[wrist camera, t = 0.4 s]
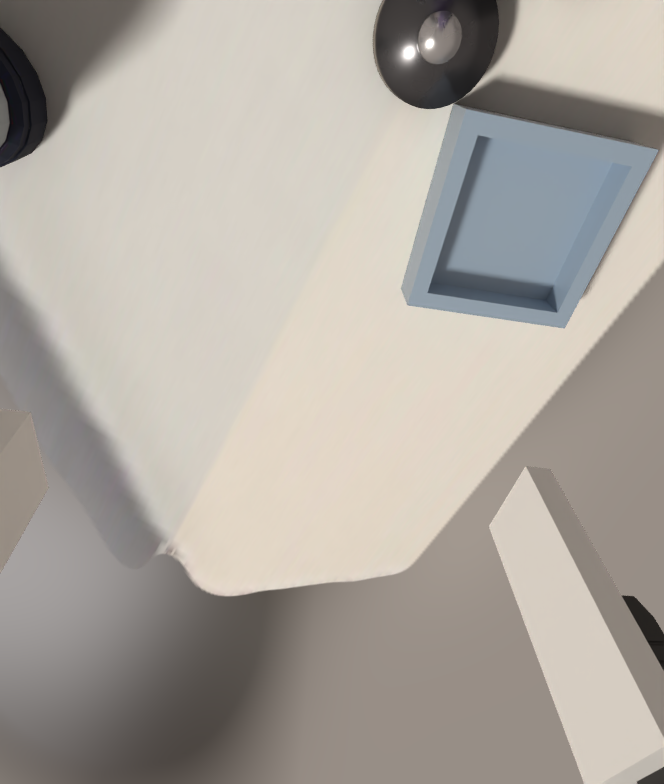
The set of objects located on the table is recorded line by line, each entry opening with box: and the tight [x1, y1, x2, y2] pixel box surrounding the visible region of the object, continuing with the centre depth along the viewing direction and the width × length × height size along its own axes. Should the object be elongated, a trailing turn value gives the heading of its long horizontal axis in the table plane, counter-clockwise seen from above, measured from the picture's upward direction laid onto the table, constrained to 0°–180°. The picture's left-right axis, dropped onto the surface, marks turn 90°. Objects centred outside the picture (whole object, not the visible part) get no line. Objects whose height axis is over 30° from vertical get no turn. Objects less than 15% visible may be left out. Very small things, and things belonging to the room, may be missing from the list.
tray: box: [401, 104, 659, 328], centre depth 34 cm, size 13×13×3 cm
